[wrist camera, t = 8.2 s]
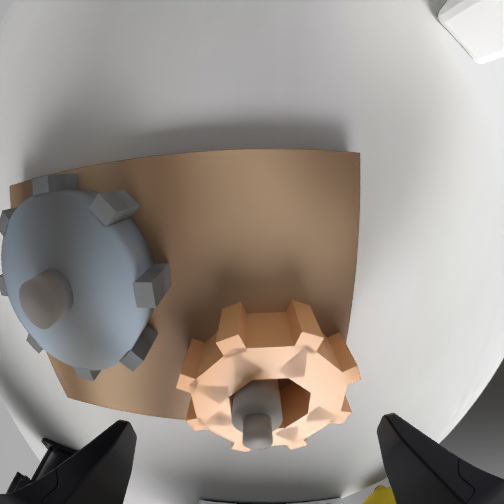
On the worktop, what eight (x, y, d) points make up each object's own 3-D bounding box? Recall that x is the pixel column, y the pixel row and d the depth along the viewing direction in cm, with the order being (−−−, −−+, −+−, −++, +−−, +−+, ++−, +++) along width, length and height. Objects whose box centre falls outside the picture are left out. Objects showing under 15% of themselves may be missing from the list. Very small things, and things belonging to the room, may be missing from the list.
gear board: (75, 386, 14) (39, 439, 8) (24, 184, 10) (-52, 196, 5) (325, 401, 14) (347, 476, 8) (348, 154, 10) (424, 142, 5)
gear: (201, 415, 12) (195, 450, 10) (179, 302, 11) (162, 333, 8) (331, 409, 12) (341, 442, 10) (350, 295, 11) (373, 324, 8)
